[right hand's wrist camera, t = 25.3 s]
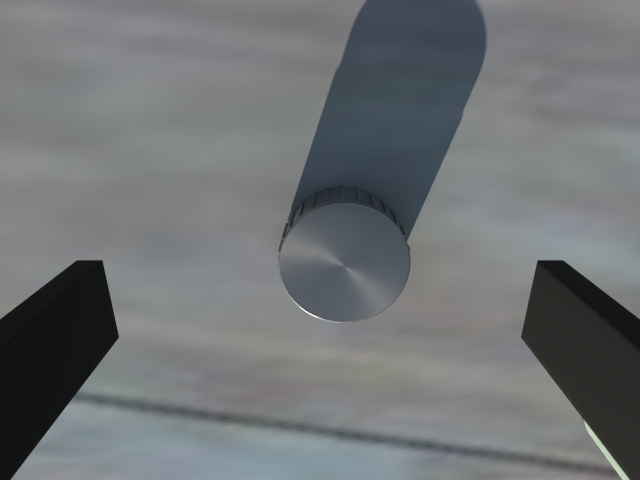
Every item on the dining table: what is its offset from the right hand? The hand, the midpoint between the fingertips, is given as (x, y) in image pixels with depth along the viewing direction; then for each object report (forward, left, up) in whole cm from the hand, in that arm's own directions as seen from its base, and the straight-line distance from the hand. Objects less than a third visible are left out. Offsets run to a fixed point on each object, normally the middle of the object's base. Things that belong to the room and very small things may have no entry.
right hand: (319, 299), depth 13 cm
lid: (+1, +1, -4) cm, 4 cm away
